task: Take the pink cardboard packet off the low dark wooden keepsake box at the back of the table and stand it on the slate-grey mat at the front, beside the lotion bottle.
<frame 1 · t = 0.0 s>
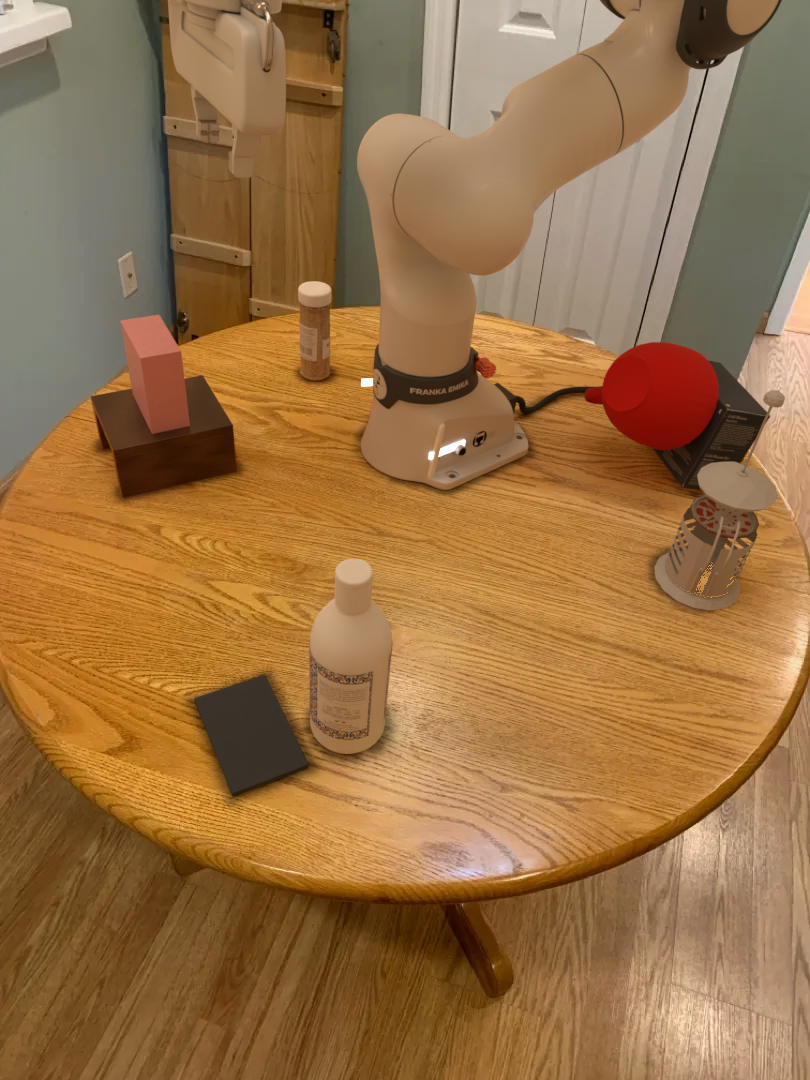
hand: (223, 157, 77), 39 cm above the table, tool pointing down, fingers open, 8 cm apart
sprinkles bottle: (314, 374, 124), on the table
packet: (160, 410, 102), point 7 cm above the table, touching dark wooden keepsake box
small box: (679, 462, 113), on the table
bath foam: (347, 725, 79), on the table
french press: (696, 585, 96), on the table
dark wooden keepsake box: (167, 457, 106), on the table
mat: (250, 733, 77), on the table
ceramic cup: (610, 383, 101), point 14 cm above the table
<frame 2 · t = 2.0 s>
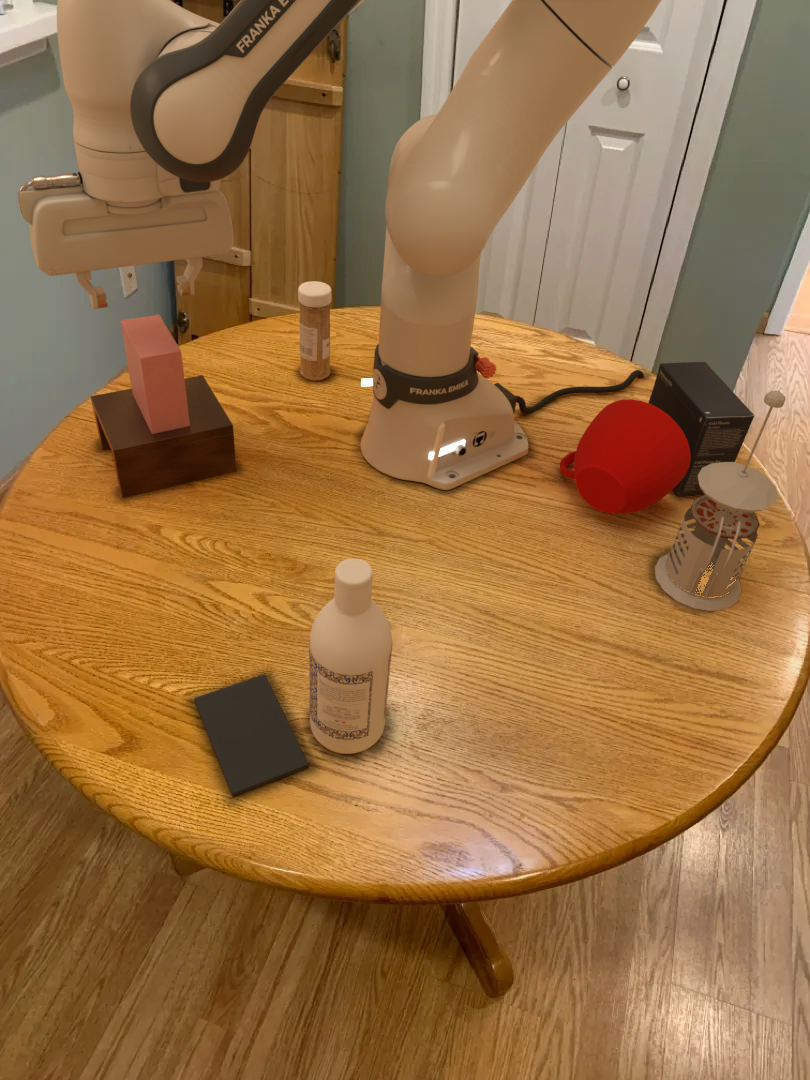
hand: (143, 299, 92), 21 cm above the table, tool pointing down, fingers open, 8 cm apart
ceramic cup: (585, 492, 101), point 4 cm above the table
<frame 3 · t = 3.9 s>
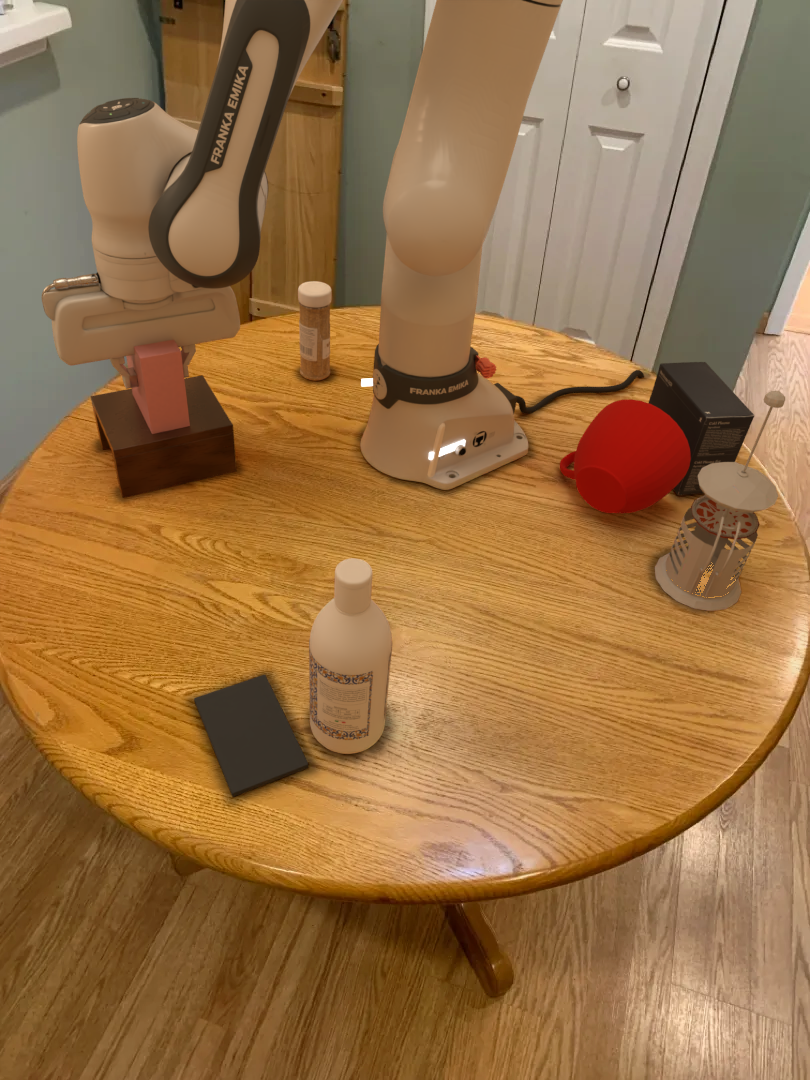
hand: (156, 380, 99), 11 cm above the table, tool pointing down, fingers closed on packet, 4 cm apart
packet: (160, 410, 102), point 7 cm above the table, touching gripper, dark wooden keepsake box
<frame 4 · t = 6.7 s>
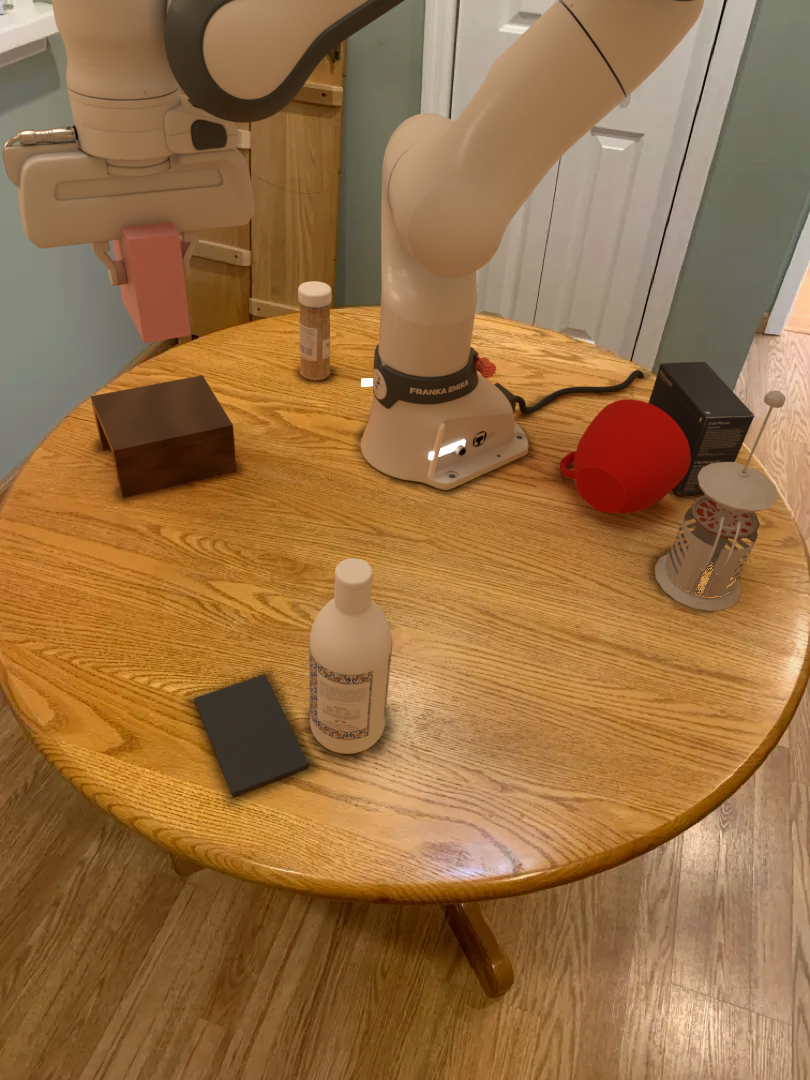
hand: (150, 278, 80), 29 cm above the table, tool pointing down, fingers closed on packet, 4 cm apart
packet: (155, 317, 83), point 24 cm above the table, touching gripper
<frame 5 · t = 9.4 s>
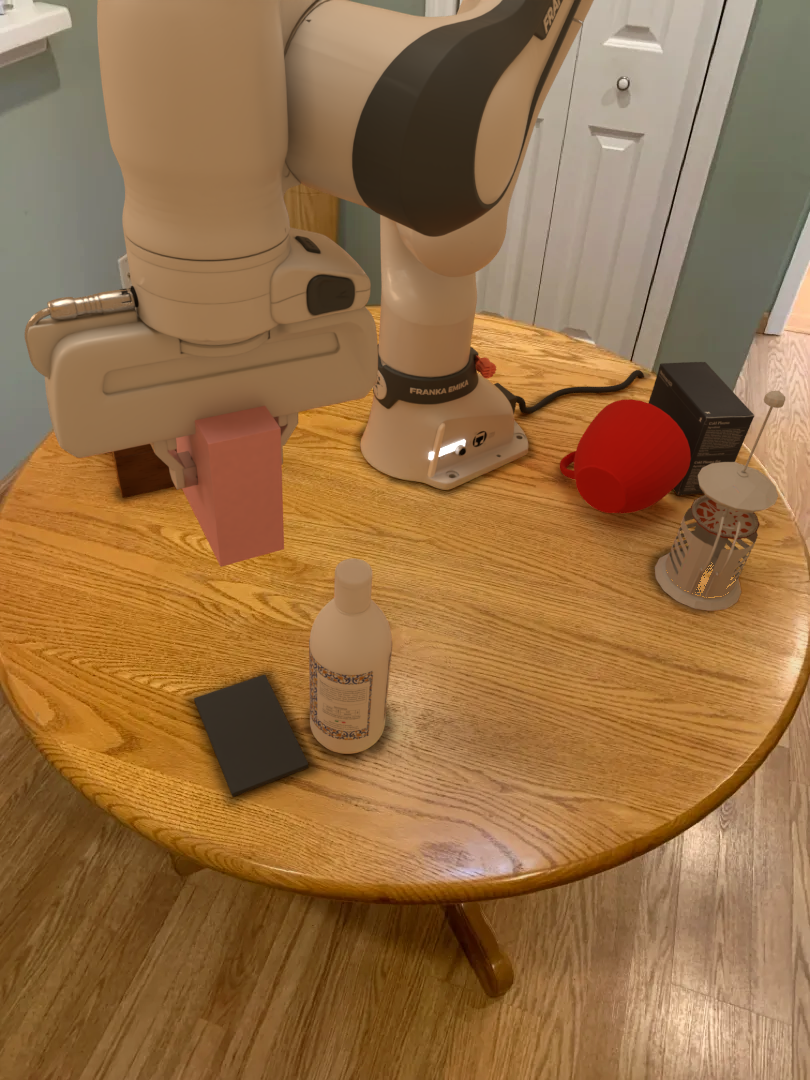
hand: (228, 472, 57), 30 cm above the table, tool pointing down, fingers closed on packet, 4 cm apart
packet: (231, 517, 60), point 26 cm above the table, touching gripper
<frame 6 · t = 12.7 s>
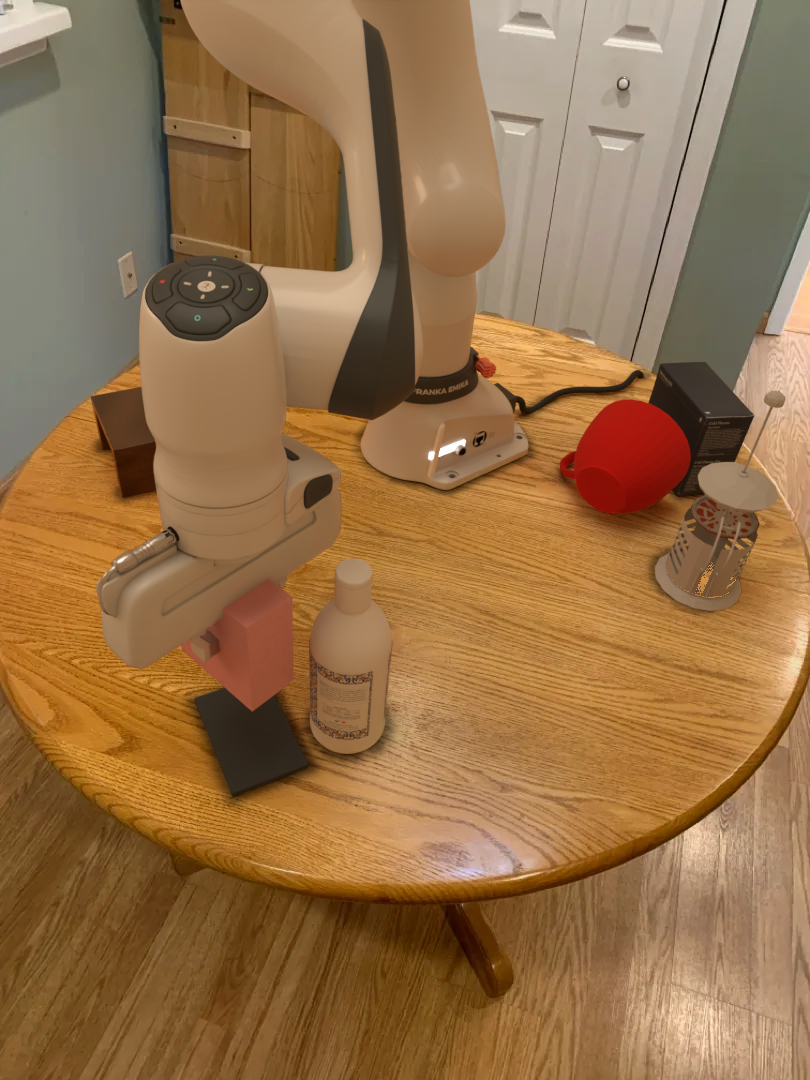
hand: (235, 632, 68), 14 cm above the table, tool pointing down, fingers closed on packet, 4 cm apart
packet: (237, 665, 71), point 10 cm above the table, touching gripper
when the fingers open (4 cm above the table, at t = 15.2 s): packet stays where it is, resting on mat.
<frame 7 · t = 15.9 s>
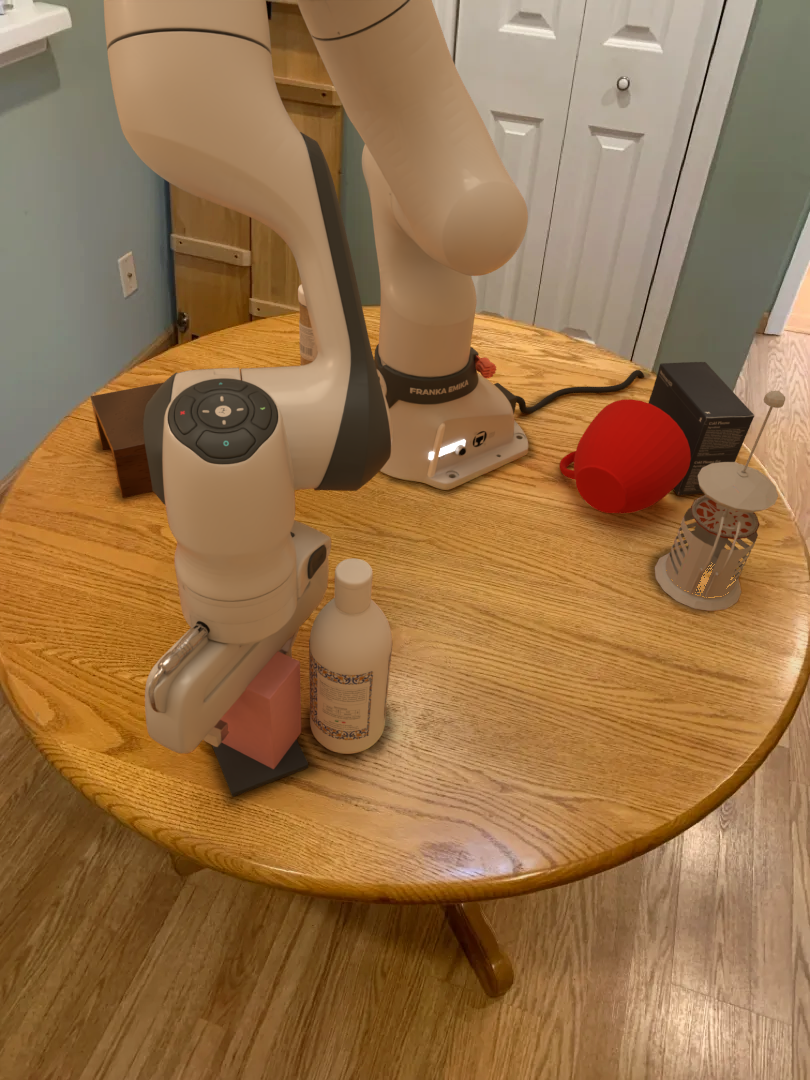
hand: (248, 698, 73), 5 cm above the table, tool pointing down, fingers open, 8 cm apart
packet: (246, 729, 77), point 1 cm above the table, touching mat
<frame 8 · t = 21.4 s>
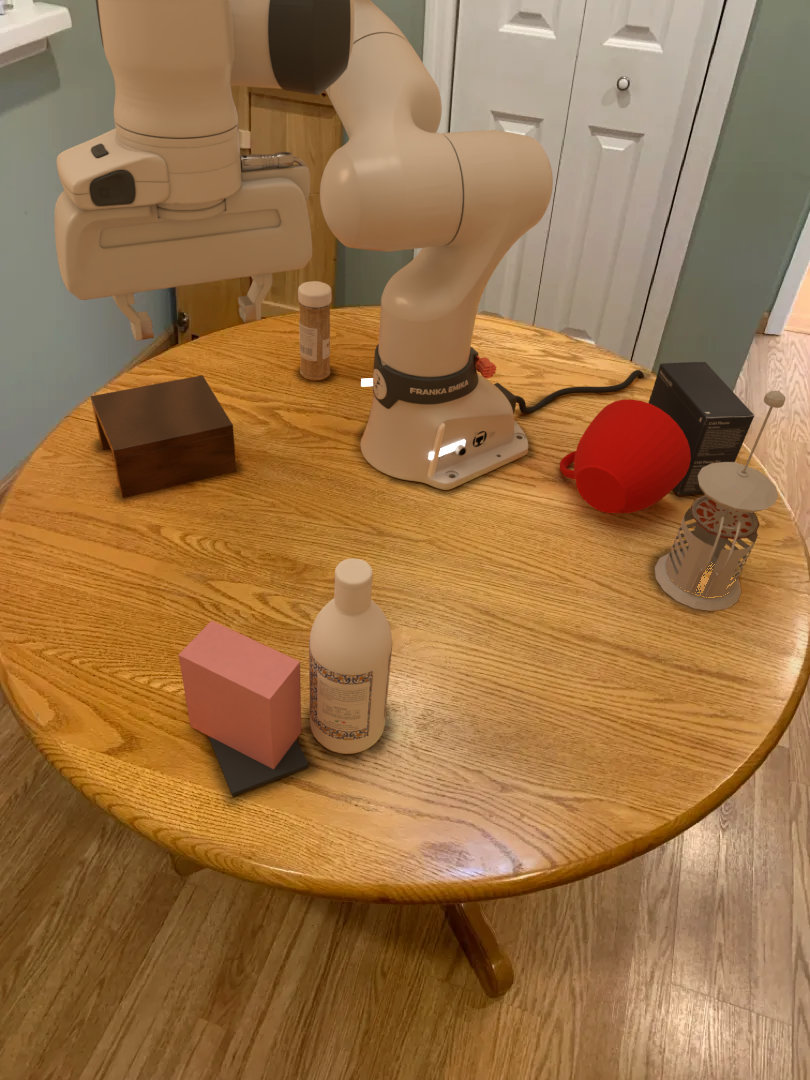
hand: (198, 327, 73), 29 cm above the table, tool pointing down, fingers open, 8 cm apart
at the end: packet 0.4 cm off-centre on the mat, point 0.6 cm above the mat's base; packet tilted 0°; the gripper is holding nothing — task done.
